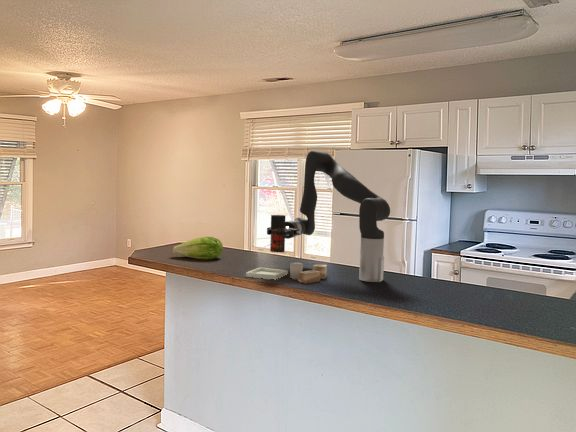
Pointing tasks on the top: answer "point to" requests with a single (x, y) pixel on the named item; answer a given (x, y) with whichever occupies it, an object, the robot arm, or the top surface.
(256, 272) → the tray
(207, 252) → the lettuce
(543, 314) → the top surface
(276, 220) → the deodorant
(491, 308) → the top surface
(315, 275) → the beech brick
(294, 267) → the grey cylinder
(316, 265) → the maple cube
